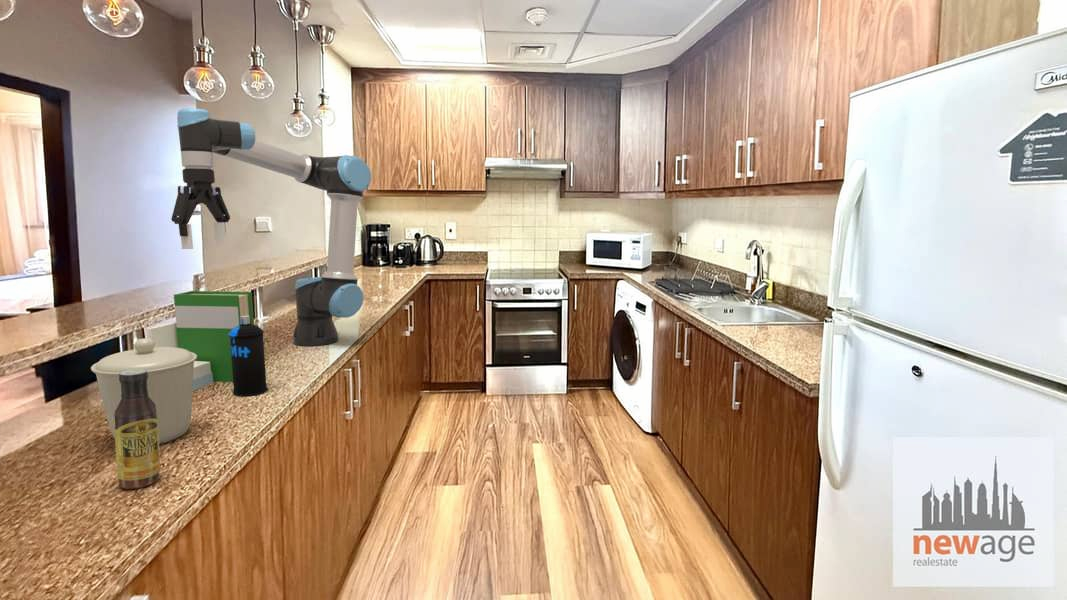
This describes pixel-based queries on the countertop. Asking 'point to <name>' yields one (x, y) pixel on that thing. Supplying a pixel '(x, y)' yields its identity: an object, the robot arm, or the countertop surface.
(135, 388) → the sauce bottle
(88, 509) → the countertop surface
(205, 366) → the book stack block
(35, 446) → the countertop surface
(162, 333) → the shelf back board
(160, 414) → the canister
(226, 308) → the hardback book
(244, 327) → the aerosol can
